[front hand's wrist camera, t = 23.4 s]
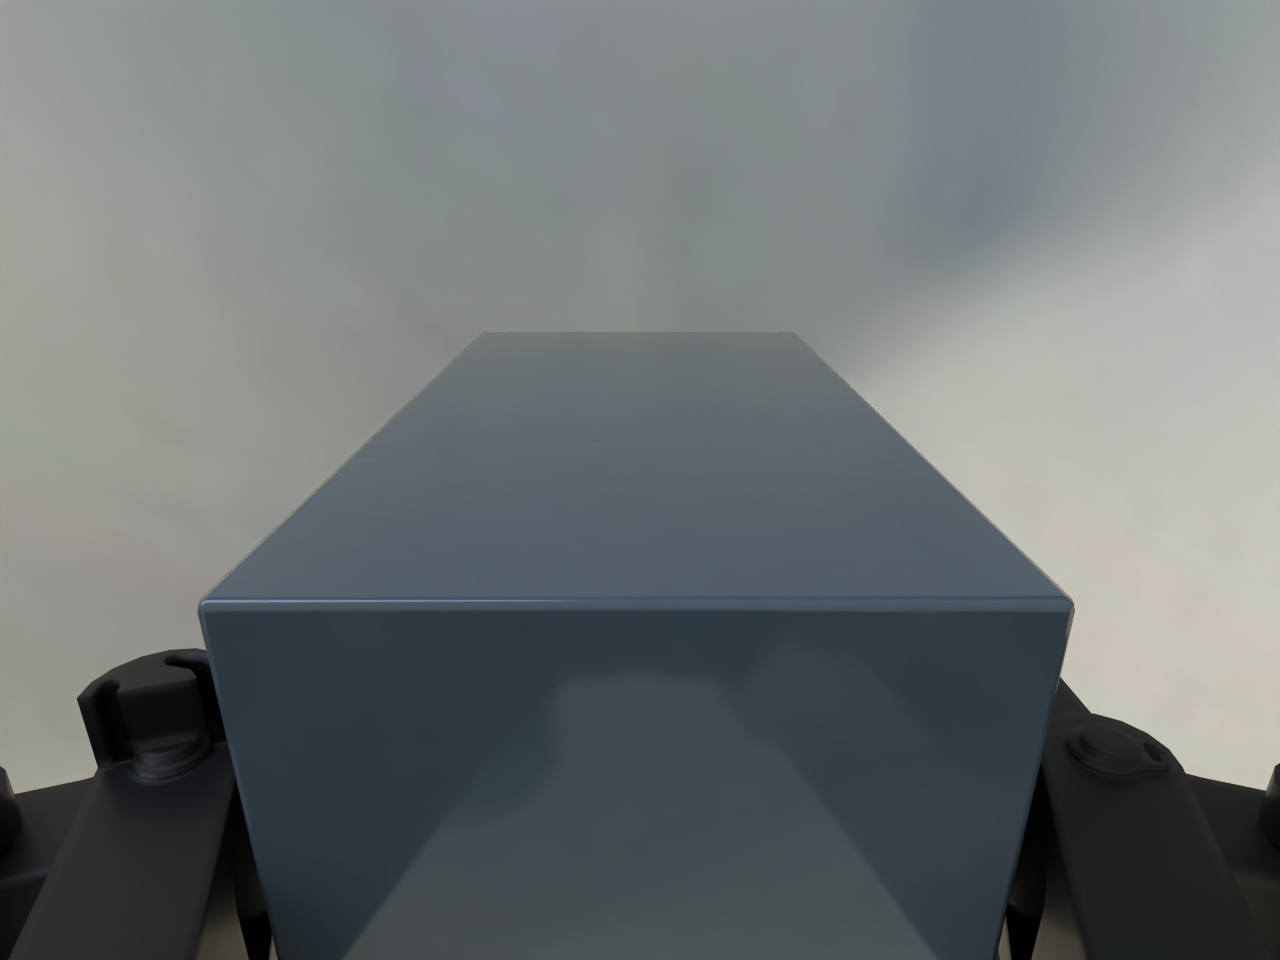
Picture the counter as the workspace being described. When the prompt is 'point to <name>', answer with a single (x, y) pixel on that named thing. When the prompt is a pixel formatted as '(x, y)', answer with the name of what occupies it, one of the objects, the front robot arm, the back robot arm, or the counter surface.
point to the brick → (636, 671)
